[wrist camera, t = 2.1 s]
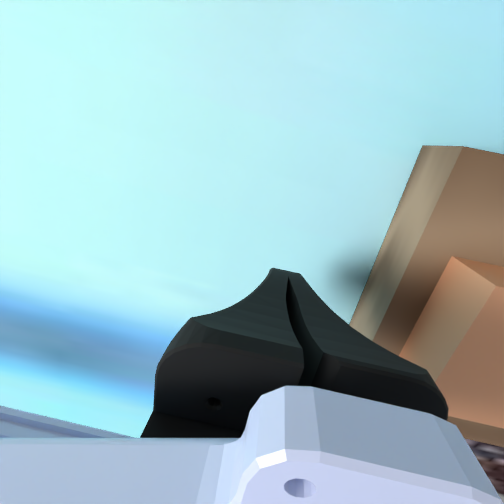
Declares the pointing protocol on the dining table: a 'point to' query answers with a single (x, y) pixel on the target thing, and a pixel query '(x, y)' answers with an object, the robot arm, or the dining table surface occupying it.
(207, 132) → the dining table surface
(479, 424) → the stand
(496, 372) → the orange flat block
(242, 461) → the robot arm
